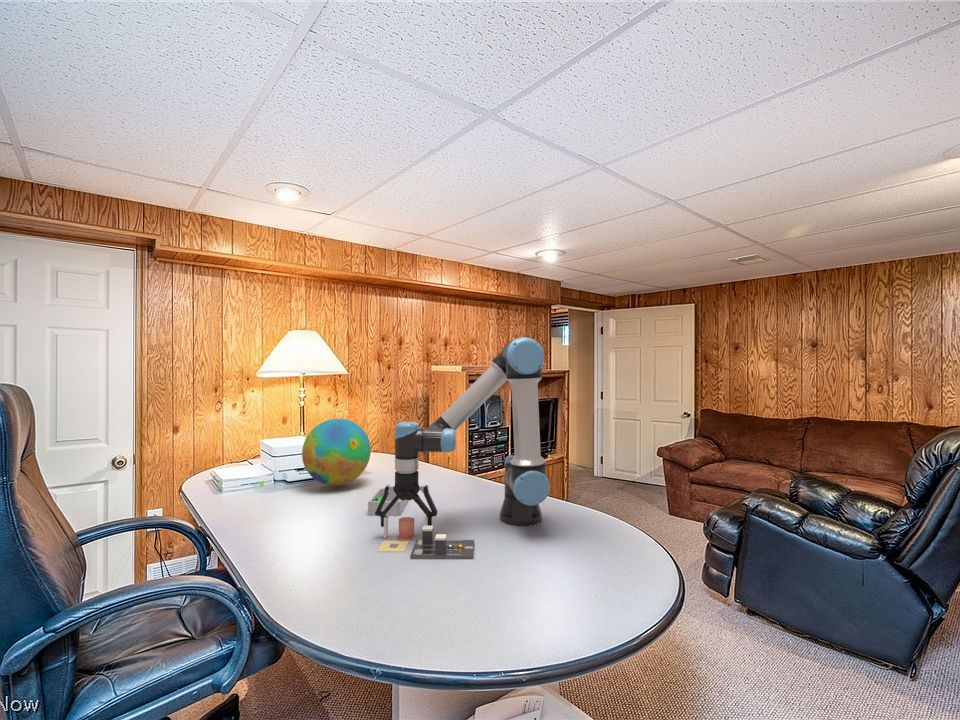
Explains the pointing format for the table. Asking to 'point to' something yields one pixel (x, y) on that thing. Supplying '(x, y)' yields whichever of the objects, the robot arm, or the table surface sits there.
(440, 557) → the breaker panel
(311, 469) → the globe
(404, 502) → the parts corral
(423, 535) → the toggle
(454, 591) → the table surface
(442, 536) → the toggle
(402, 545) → the pad
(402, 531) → the cap
